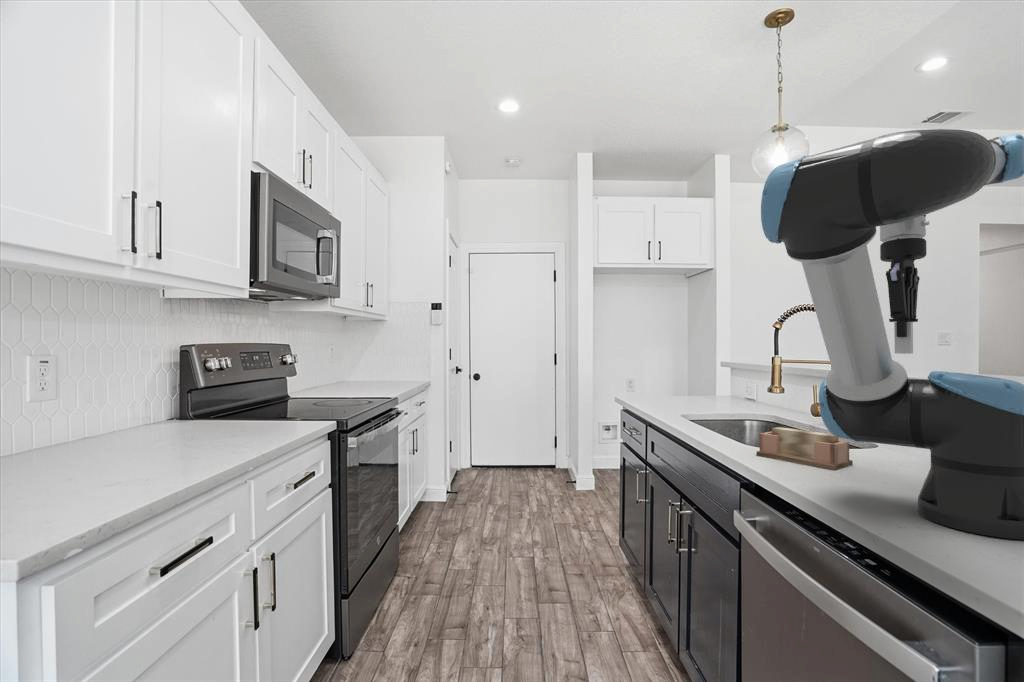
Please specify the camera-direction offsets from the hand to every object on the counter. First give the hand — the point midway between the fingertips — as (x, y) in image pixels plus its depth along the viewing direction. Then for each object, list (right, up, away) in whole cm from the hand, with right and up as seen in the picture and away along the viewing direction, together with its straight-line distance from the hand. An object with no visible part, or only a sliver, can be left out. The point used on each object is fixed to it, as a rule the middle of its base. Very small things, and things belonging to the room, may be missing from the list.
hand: (903, 353), depth 101 cm
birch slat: (-10, -26, +18) cm, 33 cm away
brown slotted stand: (-10, -26, +18) cm, 33 cm away
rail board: (-10, -27, +18) cm, 34 cm away
